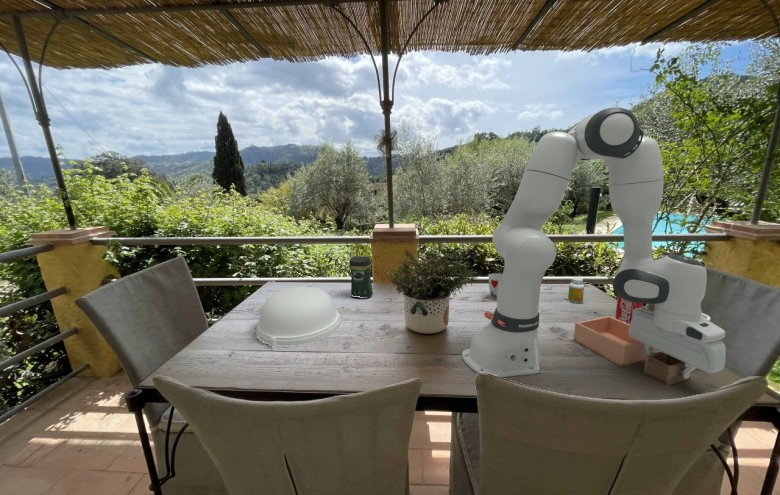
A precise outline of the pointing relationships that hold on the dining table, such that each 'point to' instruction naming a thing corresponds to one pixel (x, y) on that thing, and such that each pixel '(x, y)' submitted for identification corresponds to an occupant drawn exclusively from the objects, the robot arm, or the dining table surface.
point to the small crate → (664, 368)
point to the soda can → (625, 310)
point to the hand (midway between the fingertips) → (667, 369)
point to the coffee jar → (360, 276)
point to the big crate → (610, 340)
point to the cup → (494, 284)
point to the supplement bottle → (576, 290)
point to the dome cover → (297, 317)
